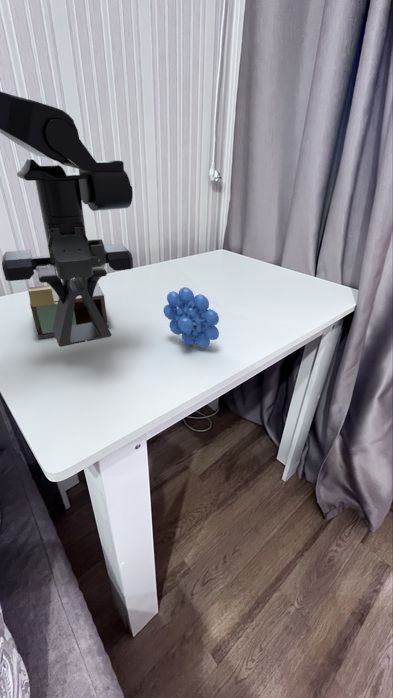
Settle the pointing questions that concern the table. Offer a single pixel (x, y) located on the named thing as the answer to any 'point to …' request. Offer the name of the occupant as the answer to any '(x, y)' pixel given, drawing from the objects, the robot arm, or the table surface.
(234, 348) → the table surface
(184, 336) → the grapes
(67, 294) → the phone stand
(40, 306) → the door
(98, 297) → the cabinet
